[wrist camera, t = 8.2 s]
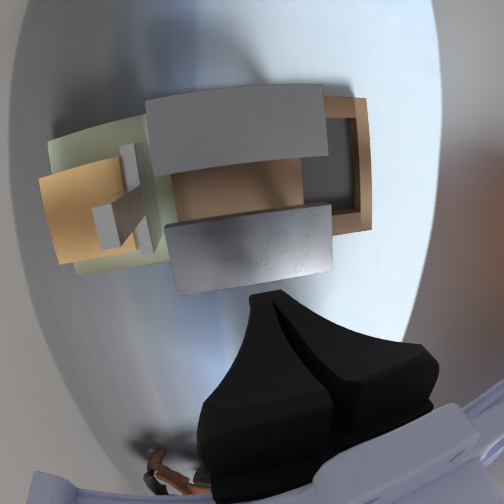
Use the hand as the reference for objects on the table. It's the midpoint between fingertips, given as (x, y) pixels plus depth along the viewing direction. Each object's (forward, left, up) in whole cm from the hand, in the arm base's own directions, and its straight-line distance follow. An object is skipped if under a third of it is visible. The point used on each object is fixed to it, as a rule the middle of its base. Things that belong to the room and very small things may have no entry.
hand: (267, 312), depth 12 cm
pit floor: (+5, -7, -10) cm, 13 cm away
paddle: (+5, +5, -9) cm, 11 cm away
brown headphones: (-29, +10, -11) cm, 33 cm away
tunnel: (+5, 0, -9) cm, 10 cm away
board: (+5, +1, -10) cm, 11 cm away
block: (+5, +8, -9) cm, 13 cm away
